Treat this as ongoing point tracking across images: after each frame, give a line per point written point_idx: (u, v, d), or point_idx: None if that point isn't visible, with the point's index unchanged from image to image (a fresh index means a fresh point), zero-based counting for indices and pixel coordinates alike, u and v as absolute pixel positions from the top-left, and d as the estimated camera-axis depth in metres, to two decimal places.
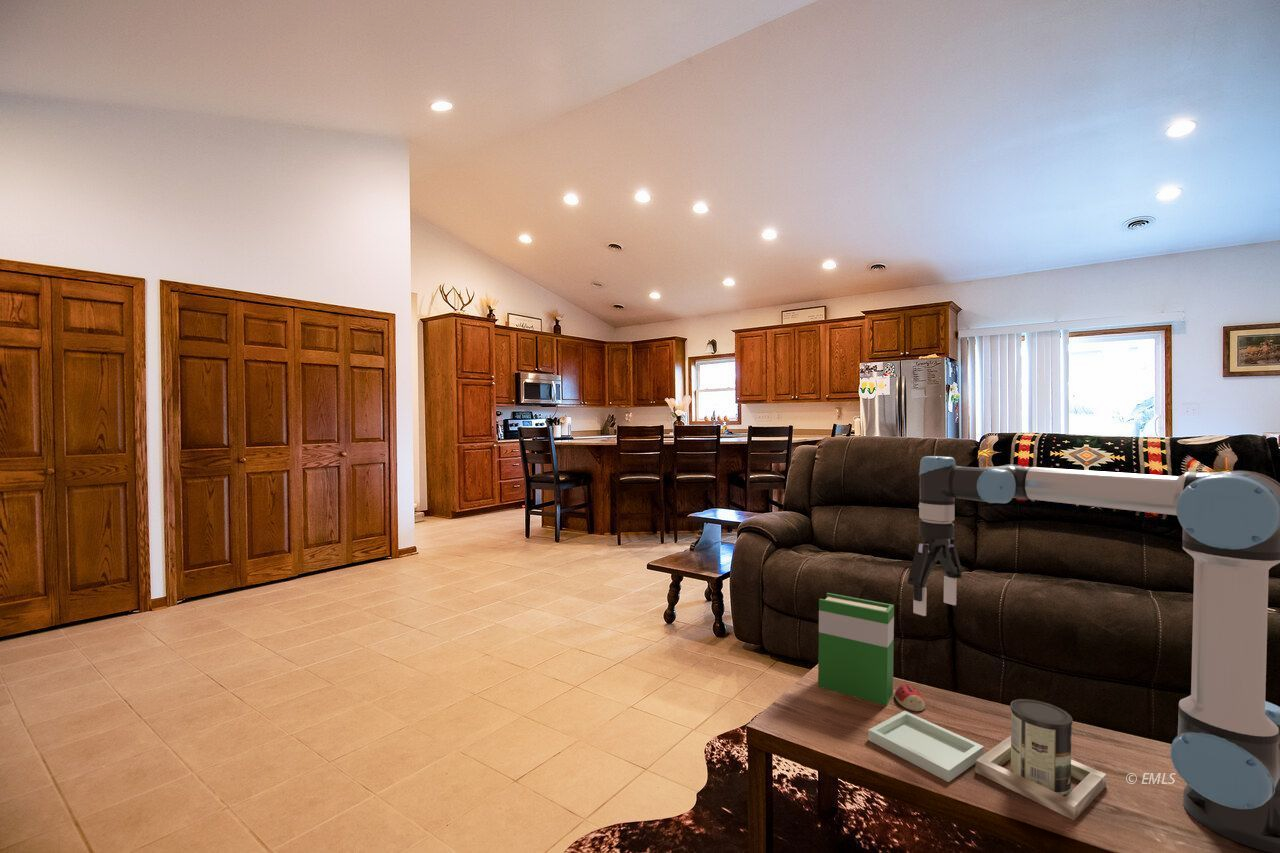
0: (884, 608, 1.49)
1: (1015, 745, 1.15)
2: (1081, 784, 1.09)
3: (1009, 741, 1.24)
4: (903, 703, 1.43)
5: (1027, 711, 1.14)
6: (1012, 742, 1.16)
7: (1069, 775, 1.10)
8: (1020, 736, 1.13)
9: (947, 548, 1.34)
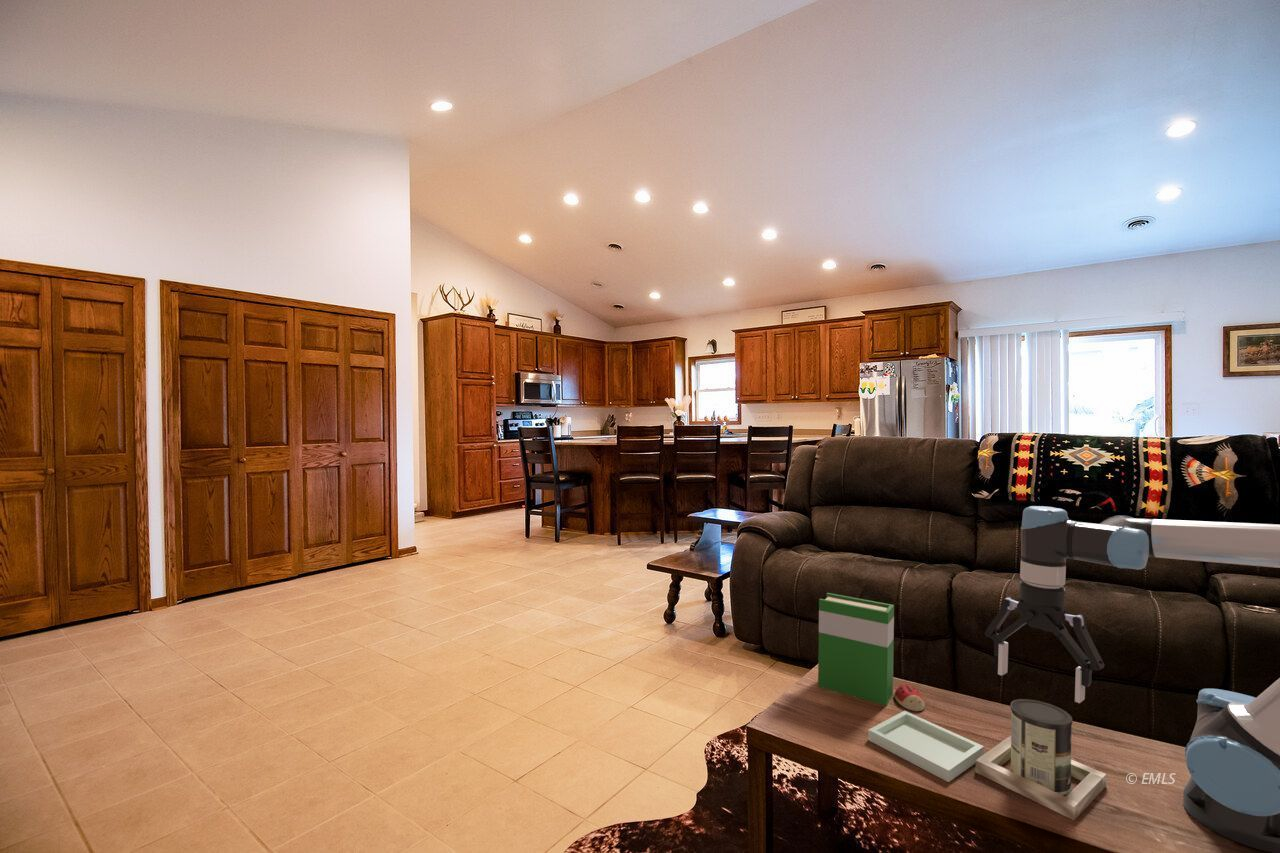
0: (884, 608, 1.49)
1: (1014, 745, 1.15)
2: (1081, 784, 1.09)
3: (1009, 741, 1.24)
4: (903, 703, 1.43)
5: (1027, 711, 1.14)
6: (1012, 742, 1.16)
7: (1069, 775, 1.10)
8: (1020, 736, 1.13)
9: (1046, 618, 1.12)
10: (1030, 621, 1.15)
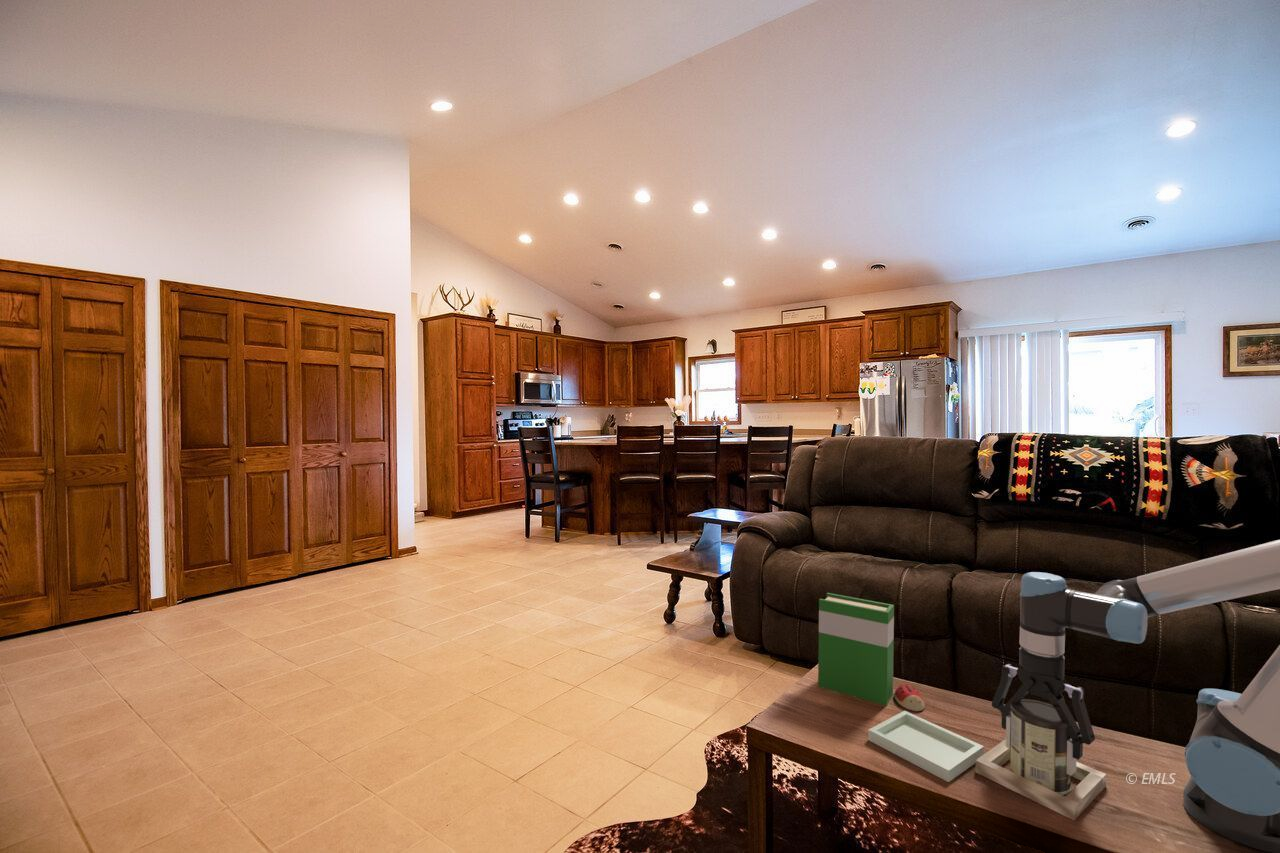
0: (884, 608, 1.49)
1: (1014, 744, 1.15)
2: (1081, 784, 1.09)
3: None
4: (903, 703, 1.43)
5: (1027, 711, 1.14)
6: (1012, 742, 1.16)
7: (1069, 775, 1.10)
8: (1020, 736, 1.13)
9: (1045, 687, 1.12)
10: (1032, 689, 1.15)
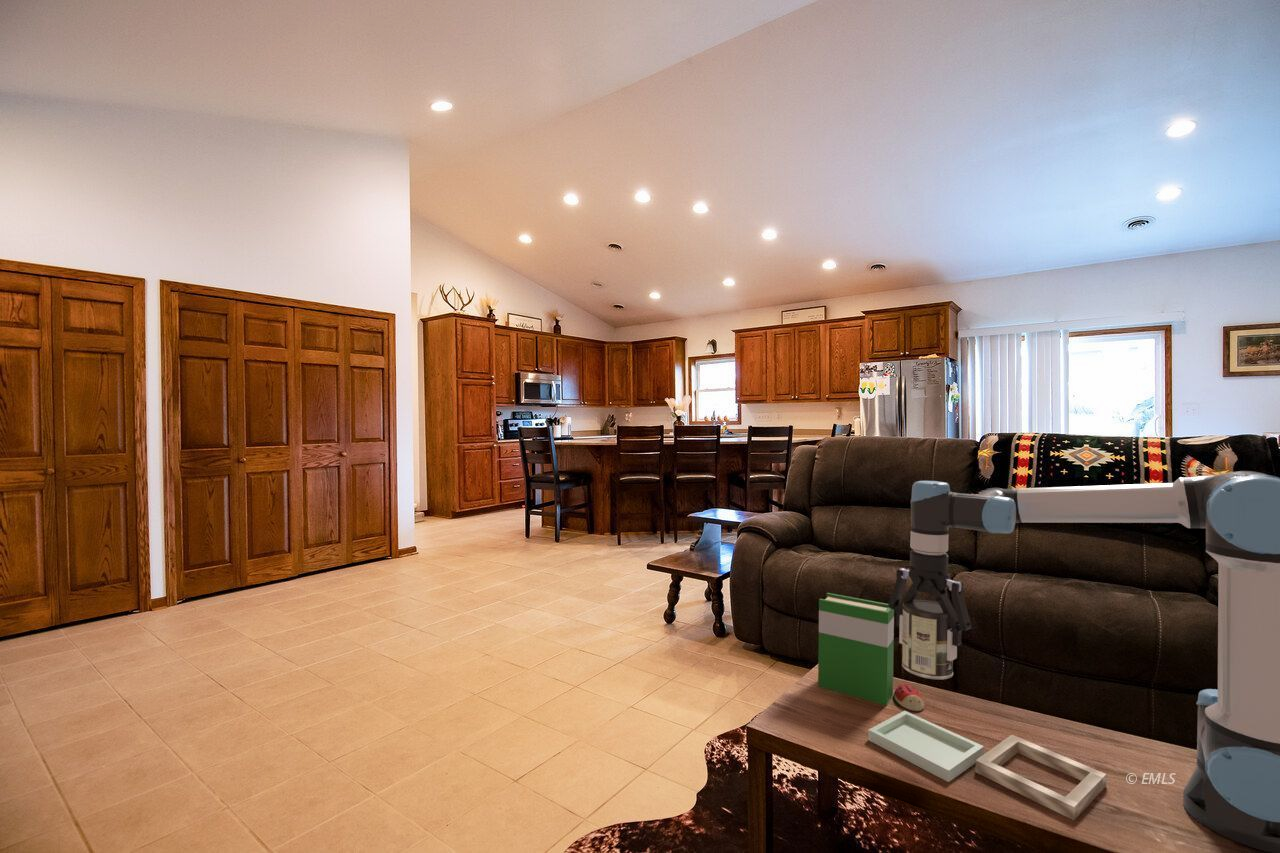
0: (884, 608, 1.49)
1: (904, 637, 1.25)
2: (1081, 784, 1.09)
3: (1009, 741, 1.24)
4: (902, 703, 1.43)
5: (916, 607, 1.24)
6: (903, 636, 1.26)
7: (950, 662, 1.21)
8: (908, 628, 1.23)
9: (930, 583, 1.22)
10: (920, 586, 1.25)
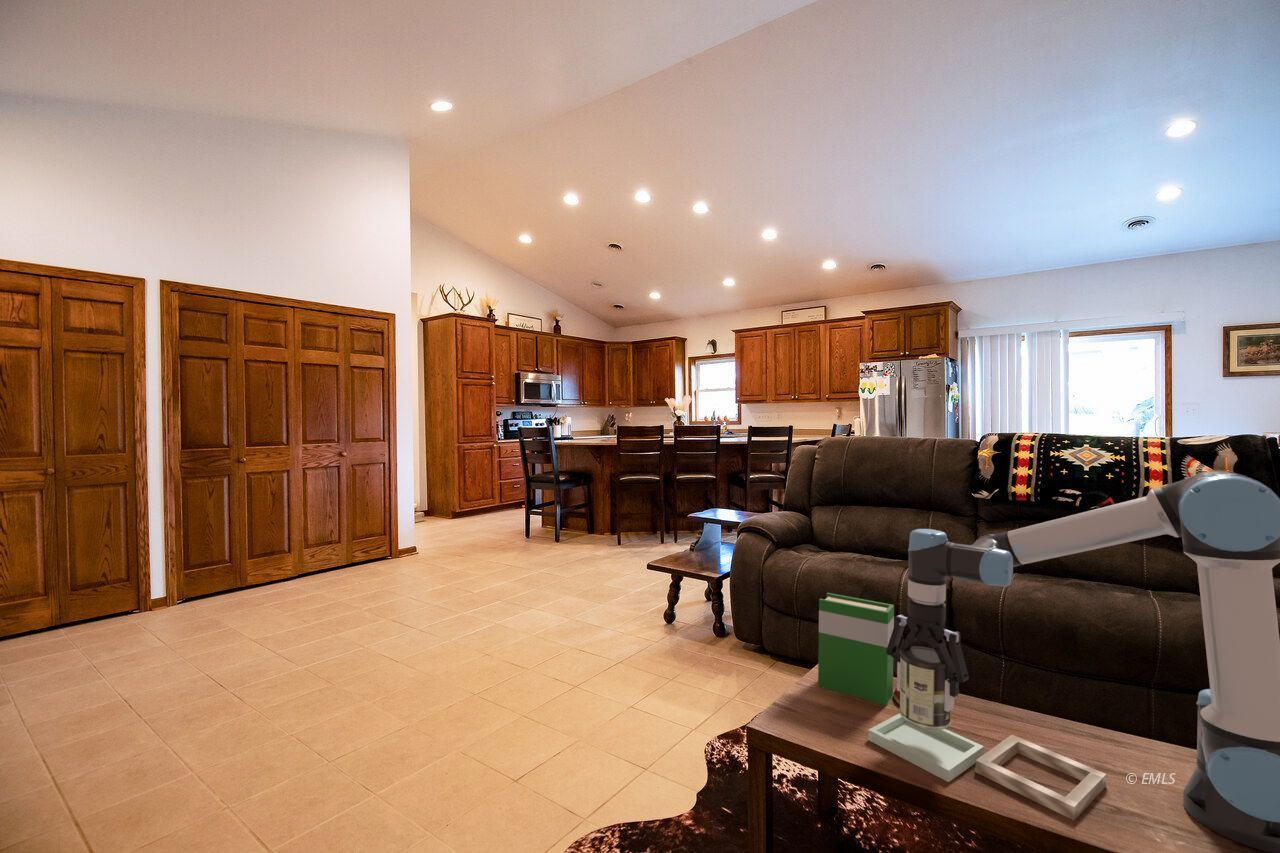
0: (884, 608, 1.49)
1: (902, 686, 1.25)
2: (1081, 784, 1.09)
3: (1009, 741, 1.24)
4: None
5: (913, 655, 1.25)
6: (900, 684, 1.26)
7: (947, 712, 1.21)
8: (905, 677, 1.24)
9: (927, 632, 1.22)
10: (917, 635, 1.25)
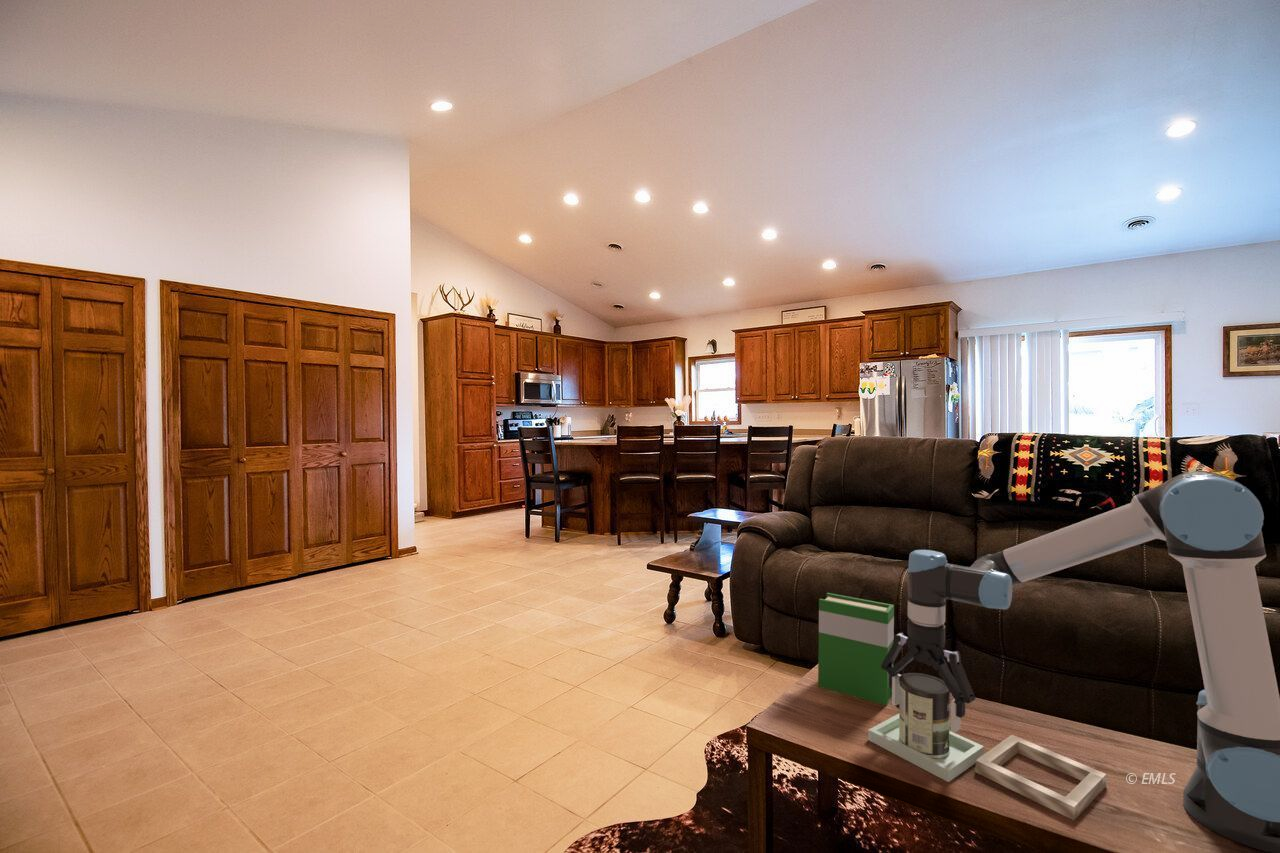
0: (884, 608, 1.49)
1: (901, 713, 1.25)
2: (1081, 784, 1.09)
3: (1009, 741, 1.24)
4: None
5: (912, 683, 1.25)
6: (899, 711, 1.26)
7: (946, 740, 1.21)
8: (904, 705, 1.24)
9: (927, 654, 1.22)
10: (916, 656, 1.25)
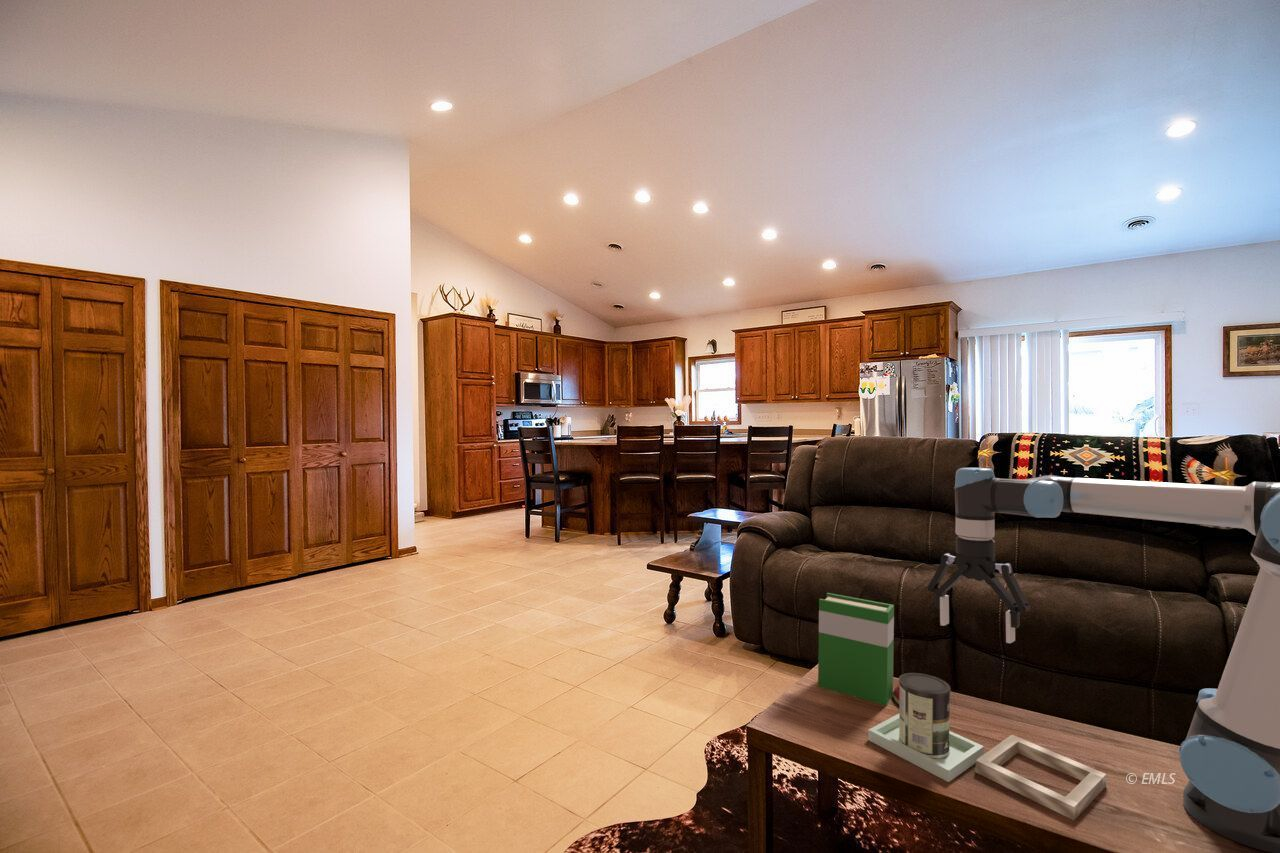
0: (884, 608, 1.49)
1: (901, 713, 1.25)
2: (1081, 784, 1.09)
3: (1009, 741, 1.24)
4: None
5: (912, 683, 1.25)
6: (899, 711, 1.26)
7: (946, 740, 1.21)
8: (904, 705, 1.24)
9: (978, 568, 1.22)
10: (966, 573, 1.25)
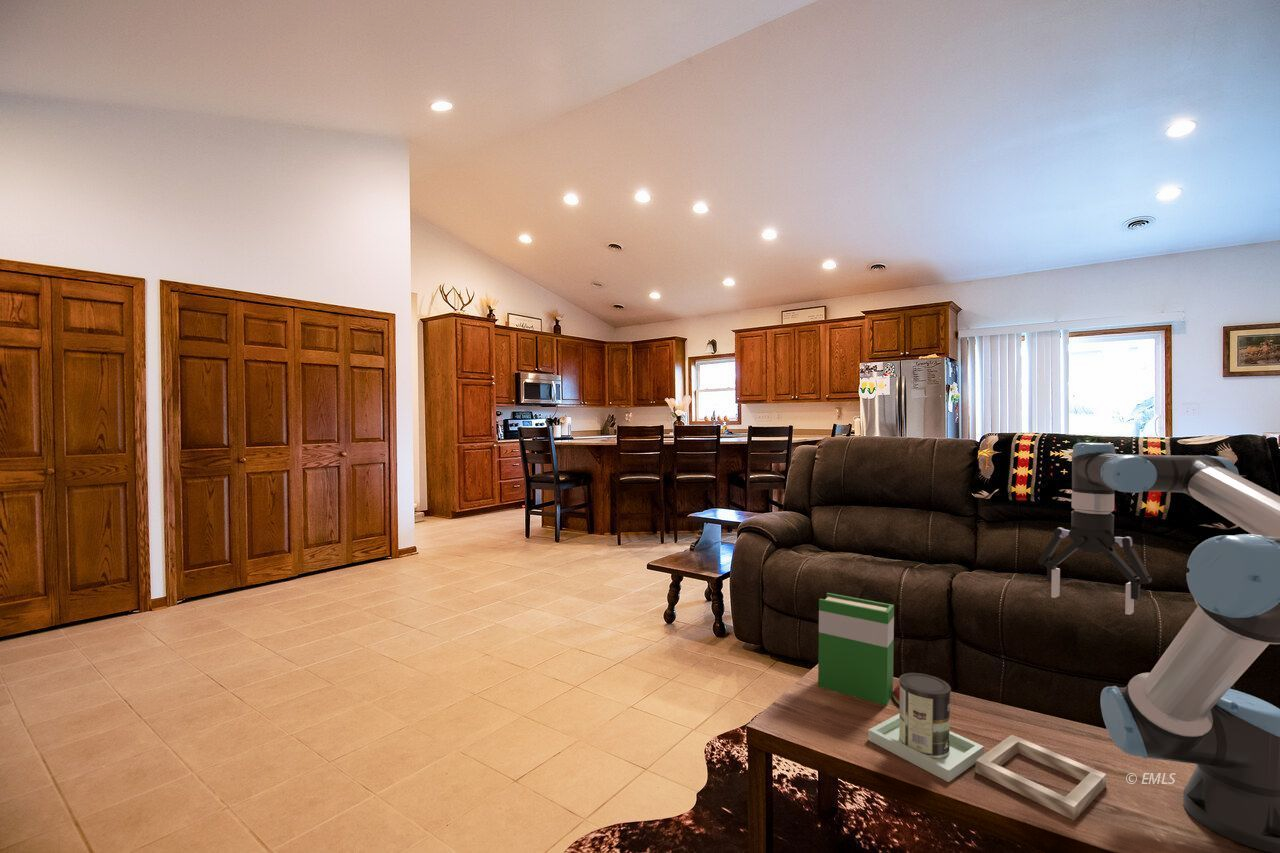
0: (884, 608, 1.49)
1: (901, 713, 1.25)
2: (1081, 784, 1.09)
3: (1009, 741, 1.24)
4: None
5: (912, 683, 1.25)
6: (900, 711, 1.26)
7: (946, 740, 1.21)
8: (904, 705, 1.24)
9: (1097, 541, 1.24)
10: (1081, 546, 1.27)
